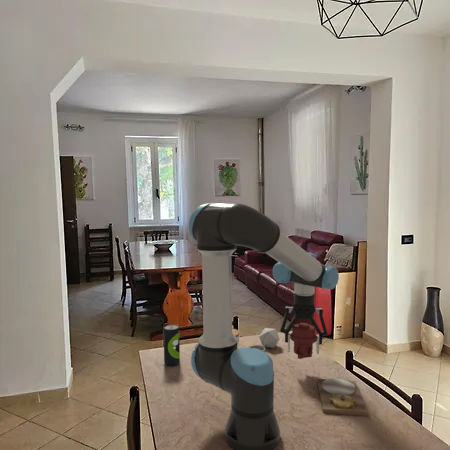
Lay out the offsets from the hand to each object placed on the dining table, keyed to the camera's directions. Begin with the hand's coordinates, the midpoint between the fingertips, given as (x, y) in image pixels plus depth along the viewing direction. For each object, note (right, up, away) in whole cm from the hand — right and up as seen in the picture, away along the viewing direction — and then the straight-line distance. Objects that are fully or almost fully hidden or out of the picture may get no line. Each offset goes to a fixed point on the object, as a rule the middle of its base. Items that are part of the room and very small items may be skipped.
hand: (303, 351), depth 146 cm
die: (-10, -6, +26) cm, 28 cm away
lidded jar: (-29, -7, +23) cm, 37 cm away
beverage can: (-51, -8, +9) cm, 52 cm away
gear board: (+9, -9, -19) cm, 22 cm away
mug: (-18, -8, +9) cm, 21 cm away
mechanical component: (0, -2, 0) cm, 2 cm away
